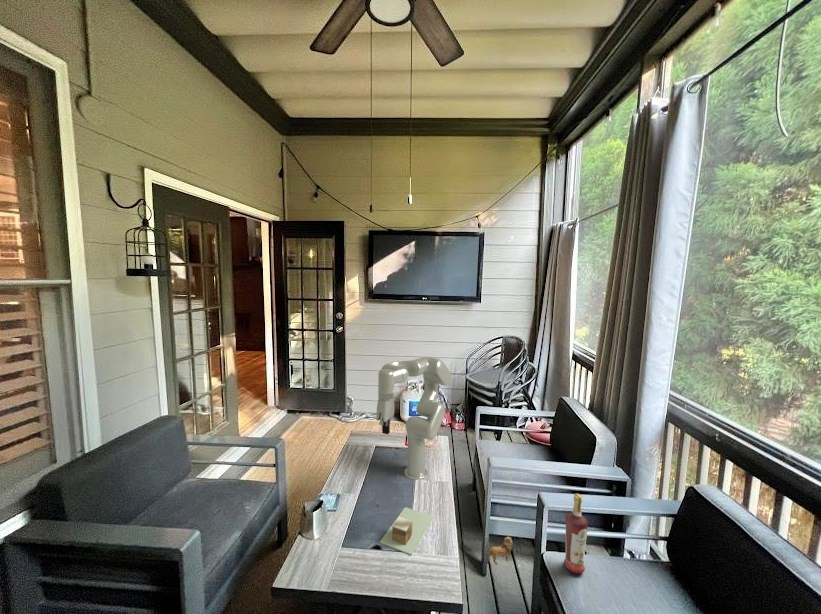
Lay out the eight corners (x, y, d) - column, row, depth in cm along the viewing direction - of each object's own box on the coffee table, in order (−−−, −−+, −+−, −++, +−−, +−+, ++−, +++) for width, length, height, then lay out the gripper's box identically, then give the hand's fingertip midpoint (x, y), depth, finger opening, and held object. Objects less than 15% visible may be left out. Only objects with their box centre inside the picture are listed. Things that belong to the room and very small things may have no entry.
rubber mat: (405, 508, 155) (405, 507, 155) (433, 517, 149) (433, 516, 149) (379, 543, 134) (379, 541, 134) (411, 555, 129) (411, 554, 129)
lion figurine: (506, 550, 132) (507, 532, 131) (515, 558, 128) (515, 540, 128) (482, 561, 126) (483, 543, 126) (490, 570, 123) (491, 551, 122)
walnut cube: (392, 525, 135) (392, 539, 135) (405, 530, 132) (405, 545, 133) (399, 516, 140) (399, 530, 141) (412, 520, 138) (412, 534, 138)
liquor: (573, 579, 119) (577, 504, 117) (558, 562, 126) (562, 491, 124) (589, 574, 121) (594, 500, 119) (574, 558, 128) (578, 488, 126)
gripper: (386, 389, 167) (386, 425, 169) (371, 399, 154) (370, 438, 155) (400, 392, 164) (400, 428, 166) (385, 401, 151) (385, 441, 152)
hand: (385, 433), depth 160 cm, fingers closed
